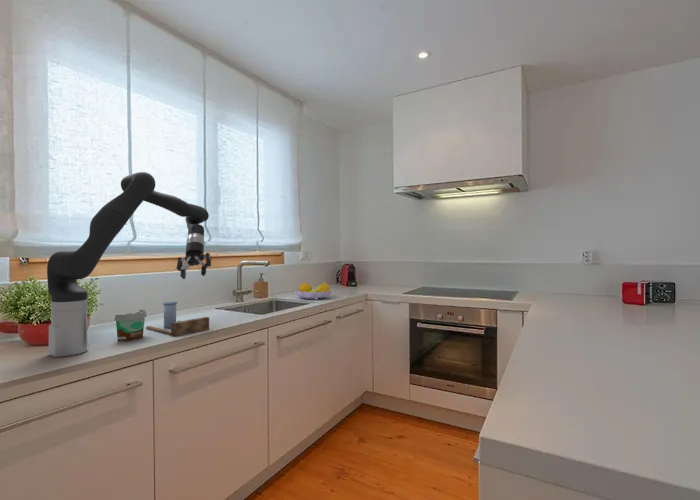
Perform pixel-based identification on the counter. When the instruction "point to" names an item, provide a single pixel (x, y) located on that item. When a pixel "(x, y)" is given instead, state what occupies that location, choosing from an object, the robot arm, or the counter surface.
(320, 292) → the fruit bowl
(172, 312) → the block
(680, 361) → the counter surface
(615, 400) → the counter surface
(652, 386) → the counter surface
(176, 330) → the channel
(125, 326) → the food container
